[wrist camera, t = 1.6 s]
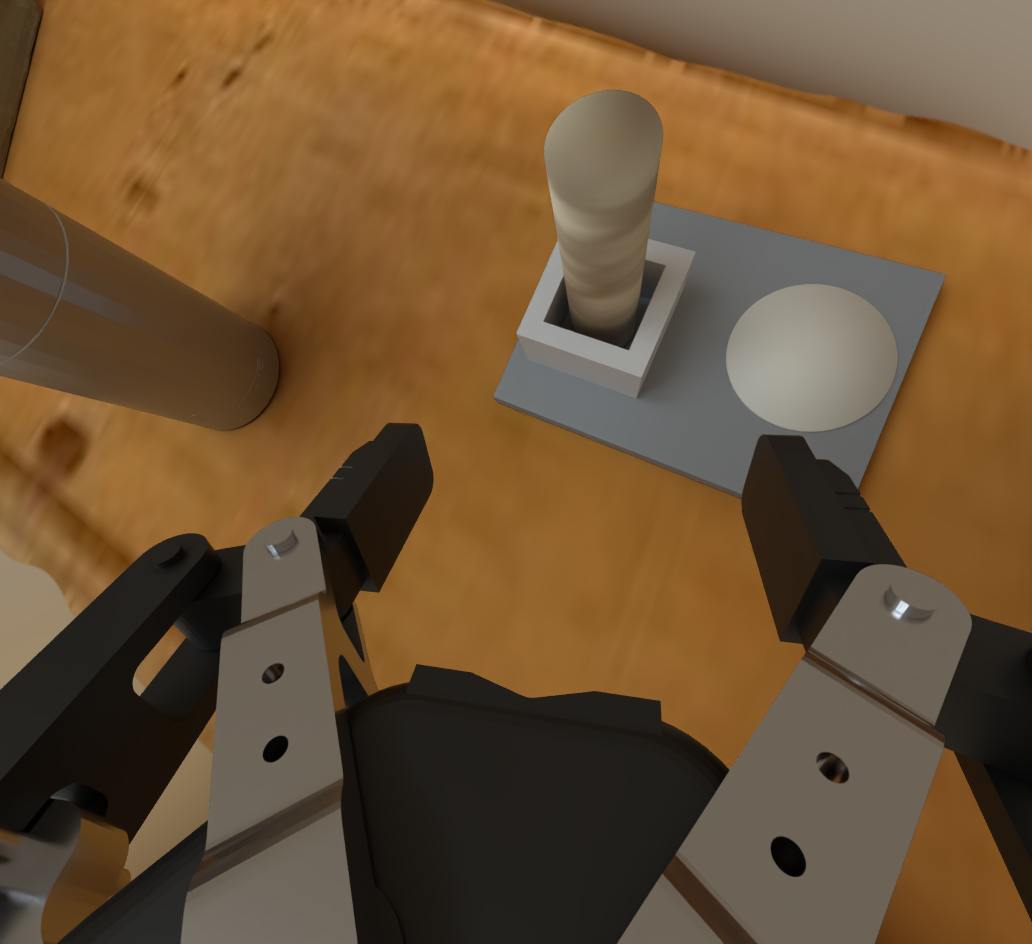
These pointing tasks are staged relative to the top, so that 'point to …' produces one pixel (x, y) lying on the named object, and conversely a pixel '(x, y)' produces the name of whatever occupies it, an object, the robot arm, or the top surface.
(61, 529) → the top surface
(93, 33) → the top surface
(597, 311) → the peg
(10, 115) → the caddy
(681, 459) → the board
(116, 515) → the top surface
